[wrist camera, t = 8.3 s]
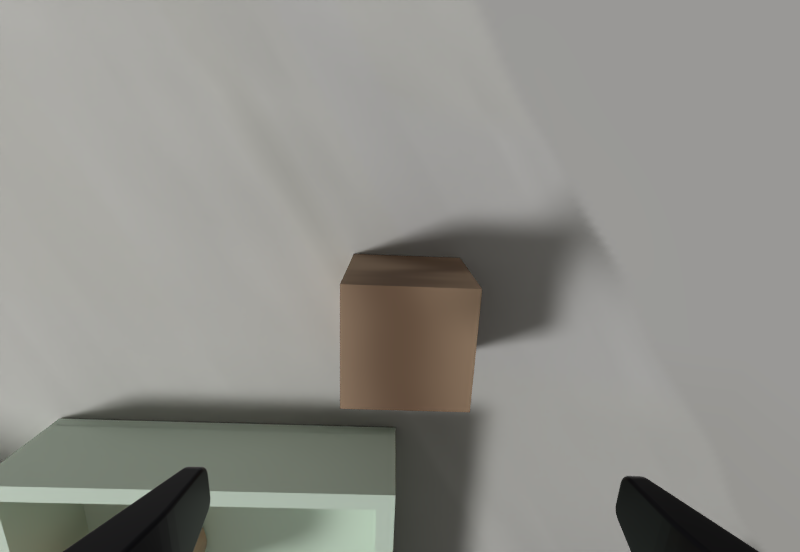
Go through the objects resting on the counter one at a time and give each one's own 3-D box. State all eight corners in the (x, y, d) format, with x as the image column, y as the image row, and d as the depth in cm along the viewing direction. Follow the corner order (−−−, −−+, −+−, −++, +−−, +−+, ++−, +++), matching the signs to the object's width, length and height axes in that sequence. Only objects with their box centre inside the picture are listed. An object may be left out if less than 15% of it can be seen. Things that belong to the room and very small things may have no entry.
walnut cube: (459, 257, 19) (482, 289, 14) (451, 353, 20) (469, 412, 15) (354, 253, 19) (340, 284, 14) (353, 350, 20) (340, 408, 15)
